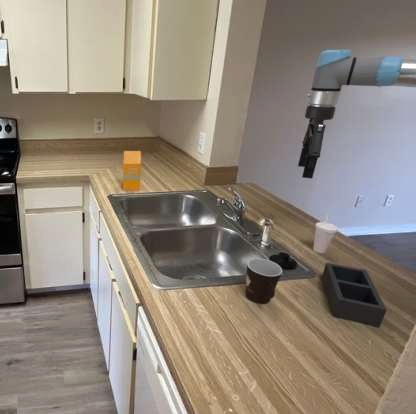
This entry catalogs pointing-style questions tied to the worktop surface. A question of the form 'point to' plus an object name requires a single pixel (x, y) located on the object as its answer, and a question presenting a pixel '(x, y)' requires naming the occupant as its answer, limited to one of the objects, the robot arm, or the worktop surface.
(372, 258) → the worktop surface
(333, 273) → the cup holder
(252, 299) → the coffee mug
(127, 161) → the orange juice
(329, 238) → the smoothie
